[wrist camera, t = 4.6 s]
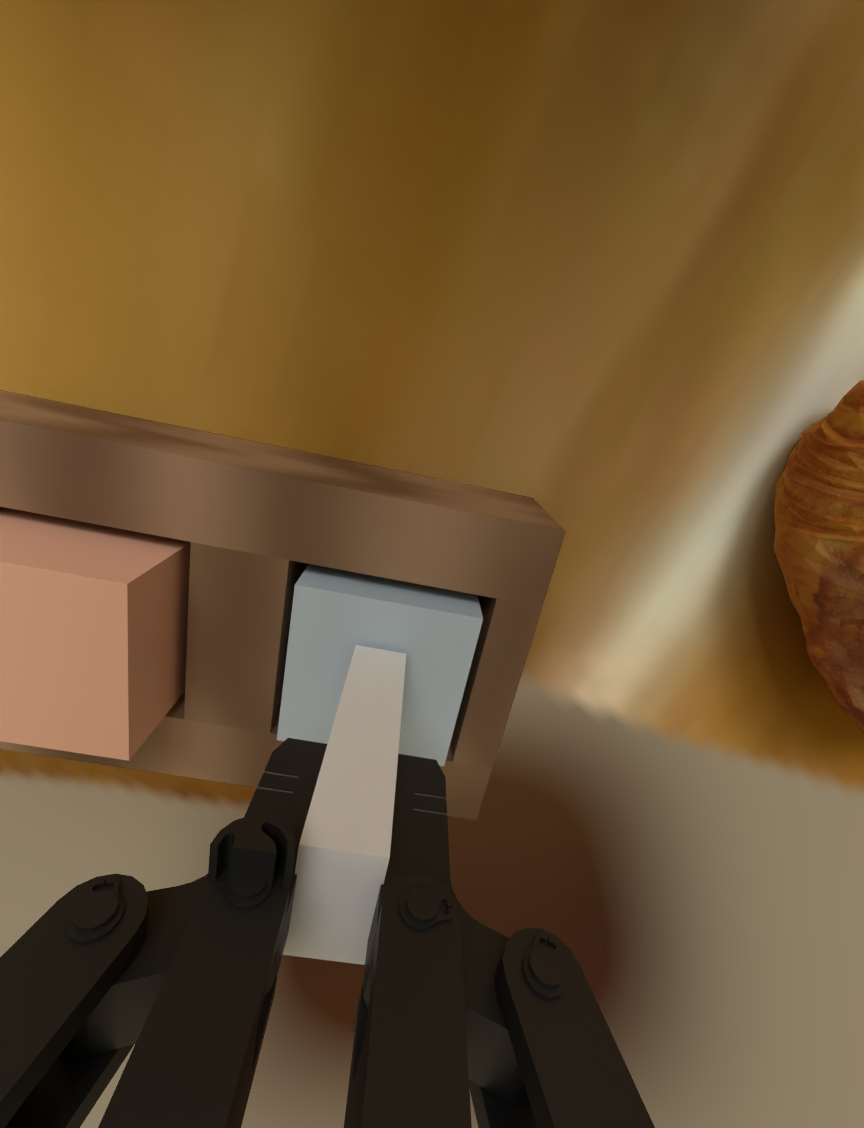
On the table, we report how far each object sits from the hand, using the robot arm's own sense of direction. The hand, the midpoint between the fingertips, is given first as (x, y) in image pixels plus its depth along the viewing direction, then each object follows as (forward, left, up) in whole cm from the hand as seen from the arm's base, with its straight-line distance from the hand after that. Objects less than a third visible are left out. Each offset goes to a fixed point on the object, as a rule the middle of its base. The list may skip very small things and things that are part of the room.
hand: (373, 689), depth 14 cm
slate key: (0, 0, -5) cm, 5 cm away
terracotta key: (-6, -6, -3) cm, 9 cm away
